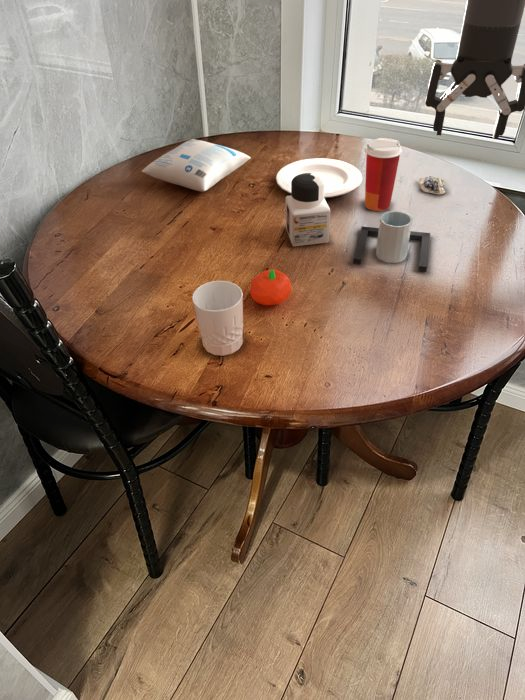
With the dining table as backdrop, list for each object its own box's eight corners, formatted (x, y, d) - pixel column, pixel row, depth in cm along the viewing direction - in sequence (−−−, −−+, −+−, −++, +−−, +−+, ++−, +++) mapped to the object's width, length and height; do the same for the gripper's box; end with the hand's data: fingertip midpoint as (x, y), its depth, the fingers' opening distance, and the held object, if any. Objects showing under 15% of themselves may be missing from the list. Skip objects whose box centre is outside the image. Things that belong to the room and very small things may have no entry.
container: (292, 247, 111) (292, 188, 103) (285, 228, 117) (284, 171, 108) (329, 243, 112) (332, 184, 103) (320, 224, 118) (322, 167, 109)
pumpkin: (241, 302, 99) (239, 273, 94) (270, 282, 103) (269, 253, 99) (271, 318, 95) (270, 289, 91) (299, 296, 99) (300, 267, 95)
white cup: (212, 323, 95) (206, 276, 88) (253, 333, 92) (250, 286, 86) (191, 352, 90) (183, 304, 83) (234, 363, 87) (229, 315, 80)
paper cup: (394, 197, 125) (402, 137, 116) (394, 214, 120) (403, 152, 110) (360, 196, 126) (365, 136, 117) (358, 212, 121) (364, 151, 111)
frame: (429, 238, 112) (430, 232, 111) (426, 272, 103) (427, 266, 102) (361, 231, 115) (361, 226, 114) (353, 263, 106) (353, 258, 105)
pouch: (201, 173, 121) (249, 138, 132) (137, 159, 129) (188, 127, 141) (207, 205, 126) (252, 168, 138) (145, 190, 134) (193, 156, 146)
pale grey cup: (407, 248, 110) (413, 212, 104) (405, 264, 105) (411, 228, 100) (377, 244, 111) (381, 209, 105) (374, 261, 107) (378, 225, 101)
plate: (340, 212, 121) (341, 204, 120) (260, 193, 129) (260, 185, 128) (374, 174, 134) (375, 166, 133) (299, 159, 142) (299, 152, 141)
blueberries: (437, 177, 131) (439, 170, 130) (454, 192, 126) (456, 184, 124) (412, 182, 130) (413, 174, 129) (428, 197, 125) (430, 189, 123)
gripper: (438, 23, 73) (419, 142, 84) (551, 25, 70) (516, 148, 81) (439, 10, 78) (421, 124, 90) (545, 12, 75) (513, 129, 86)
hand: (466, 135), depth 85 cm, fingers open, 8 cm apart
